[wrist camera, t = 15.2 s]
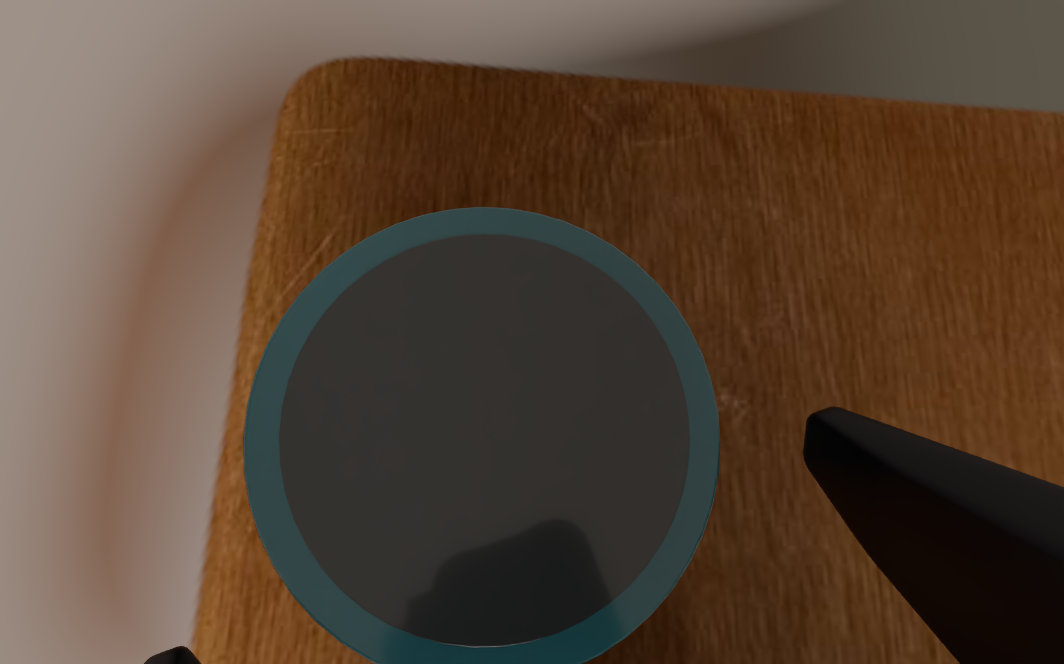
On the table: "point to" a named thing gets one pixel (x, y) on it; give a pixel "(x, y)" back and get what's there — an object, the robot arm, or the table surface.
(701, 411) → the cup
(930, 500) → the robot arm
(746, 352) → the table surface
